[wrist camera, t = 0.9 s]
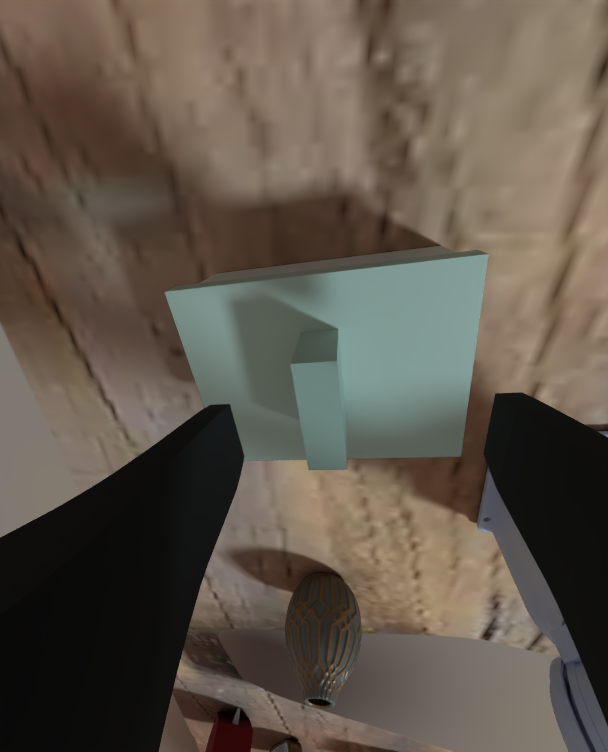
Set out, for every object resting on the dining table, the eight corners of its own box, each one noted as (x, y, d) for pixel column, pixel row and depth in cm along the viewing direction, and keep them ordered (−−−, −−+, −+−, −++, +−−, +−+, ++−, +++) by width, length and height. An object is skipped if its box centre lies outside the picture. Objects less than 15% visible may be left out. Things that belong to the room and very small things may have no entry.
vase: (336, 608, 34) (334, 726, 27) (280, 585, 33) (260, 700, 25) (373, 581, 31) (383, 707, 23) (312, 554, 30) (301, 676, 22)
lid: (451, 435, 17) (483, 507, 13) (231, 442, 19) (202, 506, 15) (472, 247, 13) (531, 270, 9) (181, 283, 15) (120, 314, 11)
